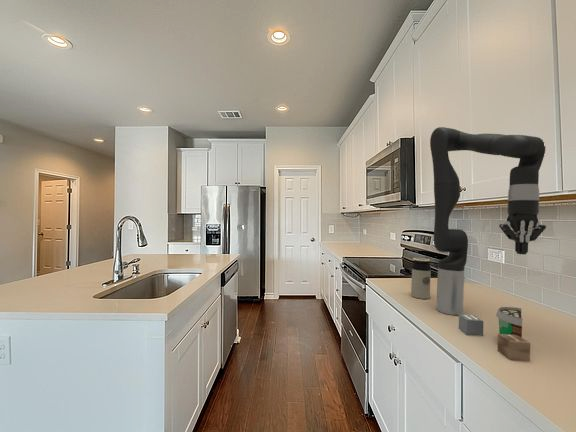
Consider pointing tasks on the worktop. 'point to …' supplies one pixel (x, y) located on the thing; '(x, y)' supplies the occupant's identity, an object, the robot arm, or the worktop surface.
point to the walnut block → (513, 347)
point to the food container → (510, 321)
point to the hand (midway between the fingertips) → (521, 254)
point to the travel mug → (421, 278)
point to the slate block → (471, 325)
